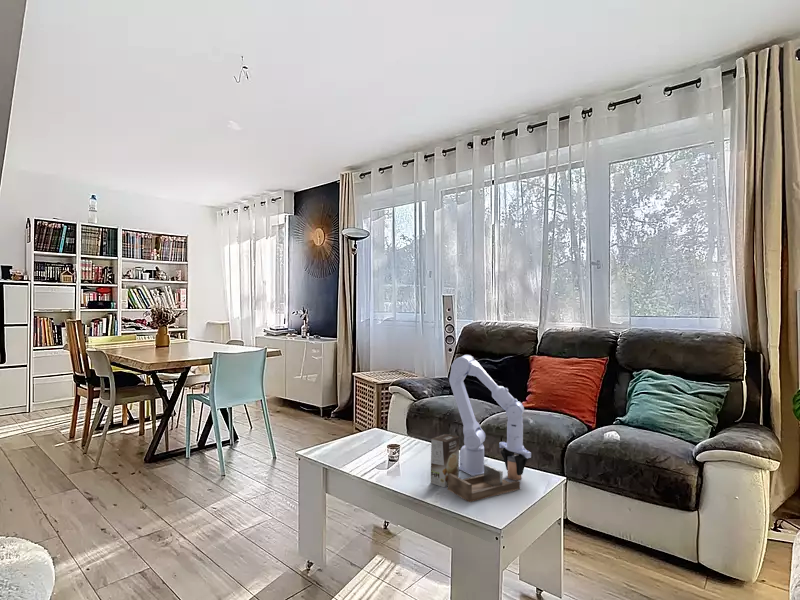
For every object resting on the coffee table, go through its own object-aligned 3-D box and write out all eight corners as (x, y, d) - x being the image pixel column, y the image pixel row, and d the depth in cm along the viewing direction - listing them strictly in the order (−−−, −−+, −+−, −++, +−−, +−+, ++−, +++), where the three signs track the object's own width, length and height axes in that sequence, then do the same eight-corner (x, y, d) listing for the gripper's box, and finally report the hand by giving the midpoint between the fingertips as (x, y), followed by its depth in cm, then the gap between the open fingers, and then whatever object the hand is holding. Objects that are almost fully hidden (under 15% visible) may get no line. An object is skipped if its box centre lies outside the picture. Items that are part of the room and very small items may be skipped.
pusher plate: (483, 481, 175) (483, 464, 175) (486, 480, 175) (486, 464, 175) (499, 489, 168) (499, 472, 168) (502, 488, 168) (502, 471, 168)
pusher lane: (447, 489, 169) (447, 473, 169) (496, 477, 180) (497, 462, 180) (469, 502, 159) (469, 485, 159) (520, 489, 170) (520, 473, 170)
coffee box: (444, 488, 170) (445, 442, 170) (430, 483, 174) (430, 438, 174) (459, 480, 177) (459, 436, 177) (444, 476, 181) (445, 432, 181)
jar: (504, 476, 182) (504, 456, 182) (514, 474, 184) (514, 454, 184) (514, 481, 177) (514, 460, 177) (524, 478, 180) (524, 458, 180)
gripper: (537, 438, 176) (537, 476, 177) (509, 429, 189) (508, 464, 189) (523, 441, 173) (522, 480, 173) (495, 431, 185) (494, 467, 185)
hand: (514, 472), depth 181 cm, fingers closed on jar, 5 cm apart
